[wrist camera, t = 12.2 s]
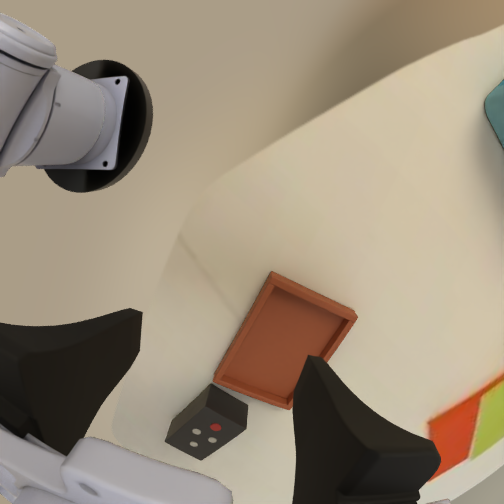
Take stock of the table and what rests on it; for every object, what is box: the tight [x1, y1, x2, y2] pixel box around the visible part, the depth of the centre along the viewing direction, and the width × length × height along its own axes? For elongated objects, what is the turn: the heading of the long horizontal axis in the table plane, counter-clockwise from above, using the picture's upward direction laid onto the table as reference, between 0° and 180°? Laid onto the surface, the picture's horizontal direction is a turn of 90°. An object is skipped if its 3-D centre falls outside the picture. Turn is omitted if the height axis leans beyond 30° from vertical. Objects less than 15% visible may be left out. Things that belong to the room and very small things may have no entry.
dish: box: [213, 271, 358, 410], centre depth 22 cm, size 10×7×1 cm
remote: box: [165, 384, 248, 460], centre depth 23 cm, size 7×4×3 cm, turn 142°
